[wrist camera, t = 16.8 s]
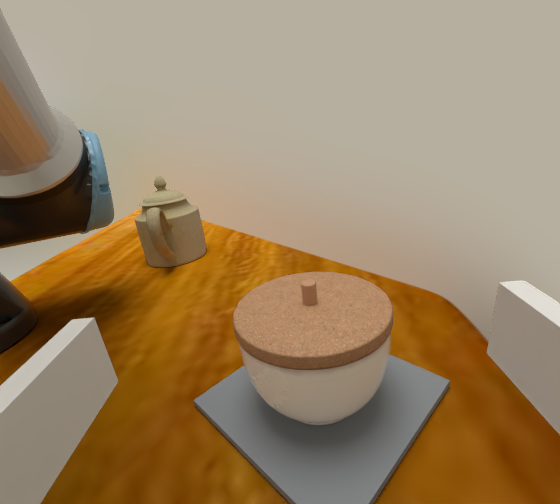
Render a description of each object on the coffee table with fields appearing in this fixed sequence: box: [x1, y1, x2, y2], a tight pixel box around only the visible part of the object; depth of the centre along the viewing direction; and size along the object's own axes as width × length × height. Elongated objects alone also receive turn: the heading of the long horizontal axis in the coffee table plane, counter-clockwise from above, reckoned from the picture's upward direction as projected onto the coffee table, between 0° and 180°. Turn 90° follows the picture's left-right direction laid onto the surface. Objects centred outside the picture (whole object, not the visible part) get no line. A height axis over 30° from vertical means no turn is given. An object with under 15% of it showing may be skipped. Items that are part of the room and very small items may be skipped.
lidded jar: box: [233, 272, 393, 426], centre depth 23 cm, size 11×11×9 cm
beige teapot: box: [135, 175, 207, 267], centre depth 56 cm, size 15×11×15 cm
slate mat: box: [194, 354, 450, 504], centre depth 25 cm, size 14×14×1 cm
